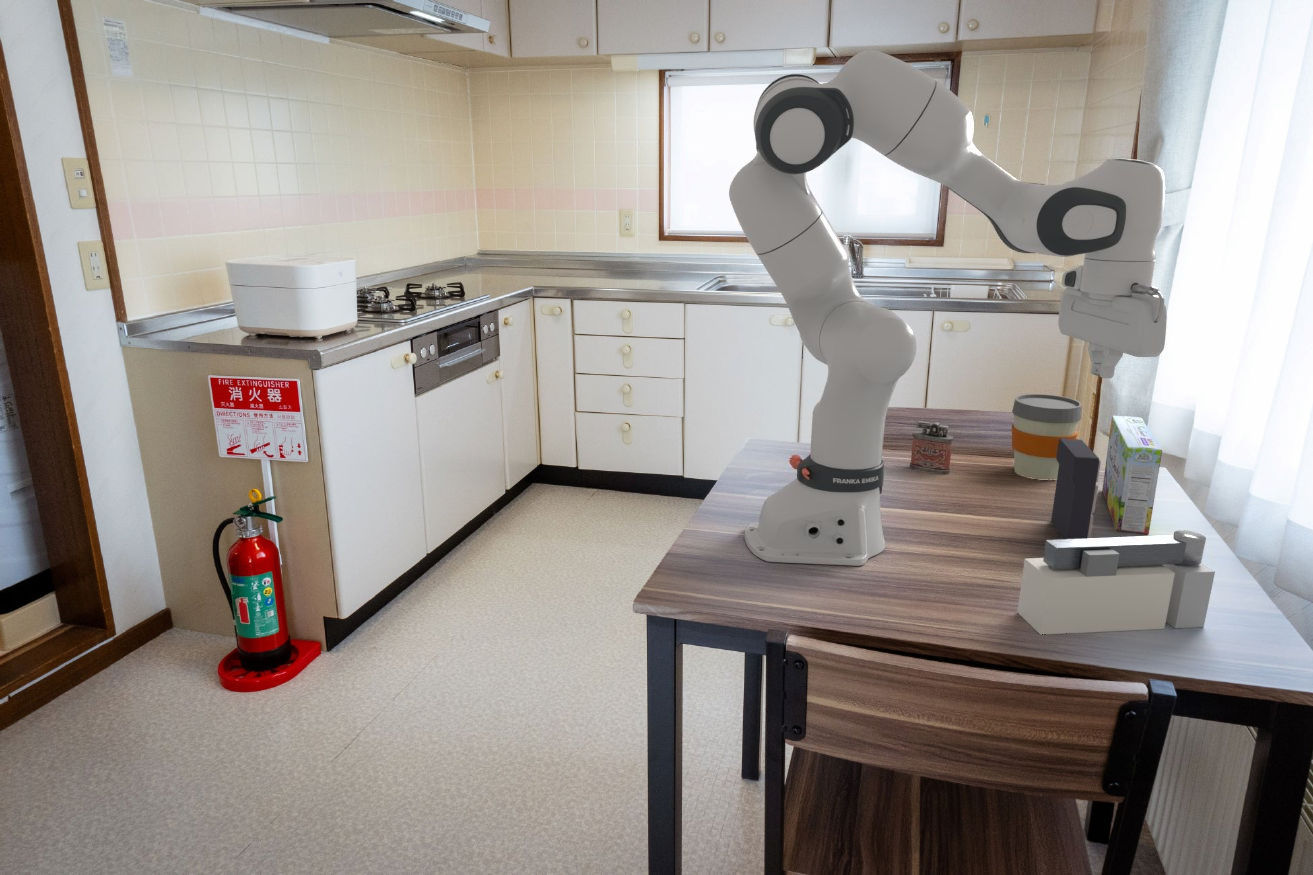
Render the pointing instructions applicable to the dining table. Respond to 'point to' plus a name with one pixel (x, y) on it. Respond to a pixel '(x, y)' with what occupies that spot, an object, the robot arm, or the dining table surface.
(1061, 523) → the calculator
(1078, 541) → the swing bar
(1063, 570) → the door slab
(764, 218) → the robot arm
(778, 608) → the dining table surface
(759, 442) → the dining table surface
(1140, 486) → the snack box
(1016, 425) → the reusable coffee cup
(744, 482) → the dining table surface
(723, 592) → the dining table surface
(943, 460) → the lighter
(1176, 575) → the post
